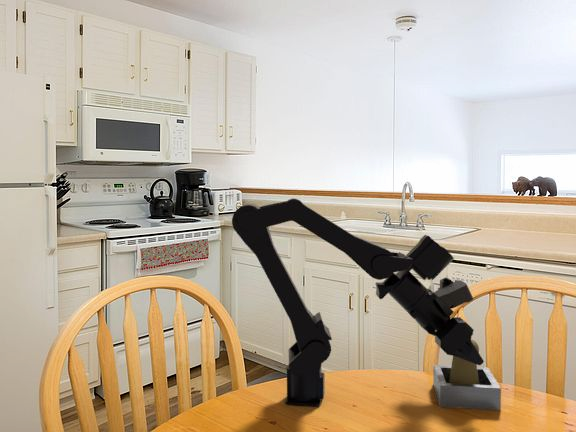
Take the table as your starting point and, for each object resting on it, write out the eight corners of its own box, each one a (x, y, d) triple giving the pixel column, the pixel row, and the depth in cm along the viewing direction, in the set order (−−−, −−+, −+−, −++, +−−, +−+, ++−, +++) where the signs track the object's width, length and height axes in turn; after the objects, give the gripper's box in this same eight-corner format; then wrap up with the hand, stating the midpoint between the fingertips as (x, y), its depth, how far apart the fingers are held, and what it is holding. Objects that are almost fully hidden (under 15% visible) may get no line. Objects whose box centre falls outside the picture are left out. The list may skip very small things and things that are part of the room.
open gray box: (440, 406, 93) (440, 385, 93) (433, 384, 103) (433, 365, 103) (500, 410, 91) (500, 388, 91) (487, 387, 102) (487, 367, 101)
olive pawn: (482, 404, 94) (483, 345, 93) (447, 401, 95) (448, 343, 95) (479, 391, 100) (479, 336, 99) (446, 389, 101) (446, 334, 100)
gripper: (461, 276, 87) (526, 340, 87) (431, 259, 105) (484, 312, 106) (414, 322, 87) (479, 385, 88) (392, 298, 106) (446, 350, 106)
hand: (472, 354), depth 97 cm, fingers open, 9 cm apart
